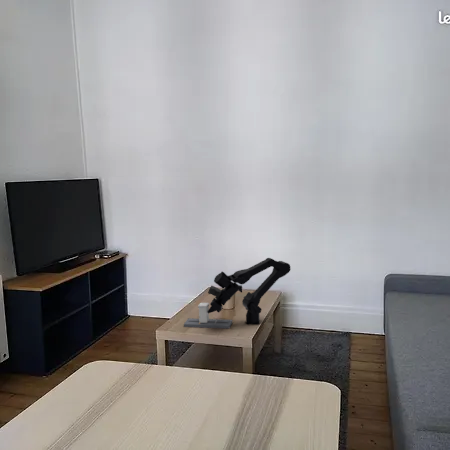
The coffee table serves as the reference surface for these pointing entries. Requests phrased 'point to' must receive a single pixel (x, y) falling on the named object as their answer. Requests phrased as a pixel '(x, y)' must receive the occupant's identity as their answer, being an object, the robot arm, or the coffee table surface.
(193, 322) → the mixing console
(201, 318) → the fader knob
